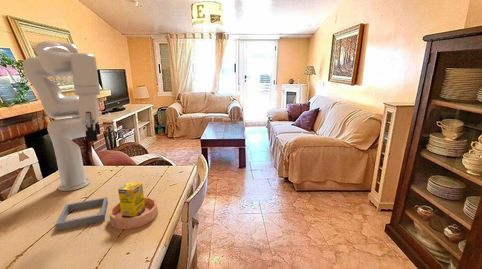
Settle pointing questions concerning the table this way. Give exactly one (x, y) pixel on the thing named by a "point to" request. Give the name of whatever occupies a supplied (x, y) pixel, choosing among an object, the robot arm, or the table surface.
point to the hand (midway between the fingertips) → (94, 137)
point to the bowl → (137, 221)
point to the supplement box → (131, 199)
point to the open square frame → (82, 221)
